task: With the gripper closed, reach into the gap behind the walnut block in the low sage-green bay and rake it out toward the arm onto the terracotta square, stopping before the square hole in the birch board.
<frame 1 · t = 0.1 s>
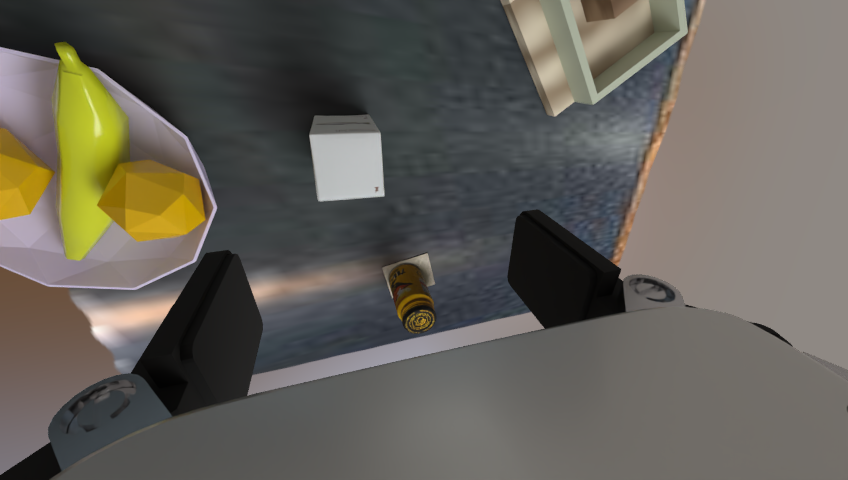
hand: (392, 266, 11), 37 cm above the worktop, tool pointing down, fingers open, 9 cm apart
condiment: (408, 274, 58), on the worktop
low bay: (614, 11, 41), on the board, point 4 cm above the worktop
fruit bowl: (108, 167, 39), on the worktop
supplement box: (344, 141, 44), on the worktop
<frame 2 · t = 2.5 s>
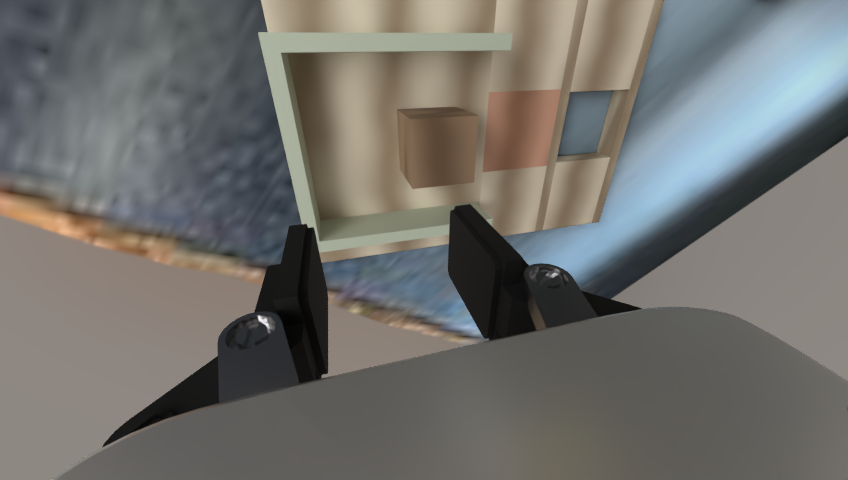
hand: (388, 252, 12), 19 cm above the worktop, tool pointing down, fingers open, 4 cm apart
low bay: (397, 146, 25), on the board, point 4 cm above the worktop
board: (471, 130, 30), on the worktop
walnut block: (426, 138, 28), point 2 cm above the worktop, touching board
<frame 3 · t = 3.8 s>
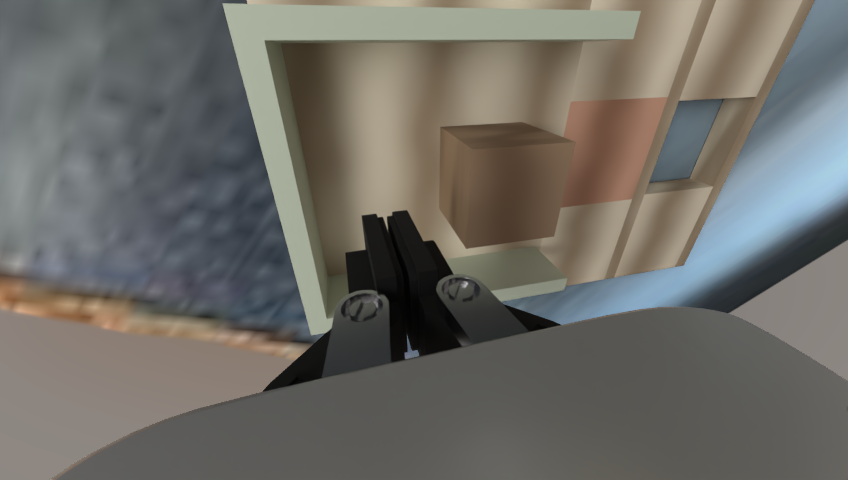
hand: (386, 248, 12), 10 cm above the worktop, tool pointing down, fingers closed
low bay: (441, 182, 17), on the board, point 4 cm above the worktop
board: (535, 152, 22), on the worktop
walnut block: (478, 166, 20), point 2 cm above the worktop, touching board
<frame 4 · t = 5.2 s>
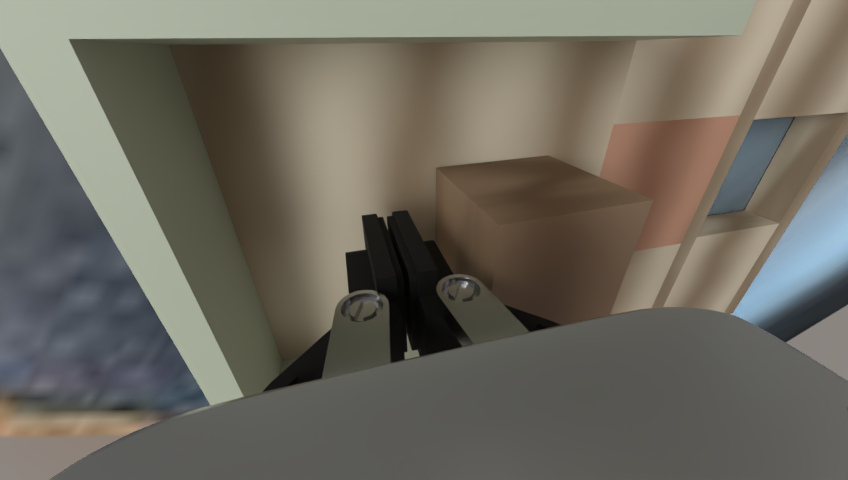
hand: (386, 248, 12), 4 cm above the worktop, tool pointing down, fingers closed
low bay: (432, 246, 12), on the board, point 4 cm above the worktop
board: (558, 187, 17), on the worktop
walnut block: (489, 217, 14), point 2 cm above the worktop, touching board, gripper
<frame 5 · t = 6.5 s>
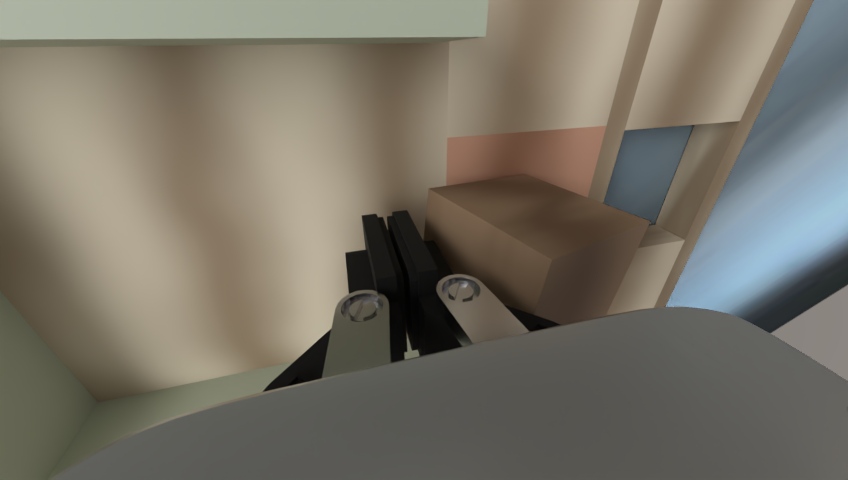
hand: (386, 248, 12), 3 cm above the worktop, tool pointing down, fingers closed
low bay: (210, 282, 10), on the board, point 4 cm above the worktop
board: (422, 204, 15), on the worktop
walnut block: (471, 237, 13), point 3 cm above the worktop, tilted 19°, touching gripper
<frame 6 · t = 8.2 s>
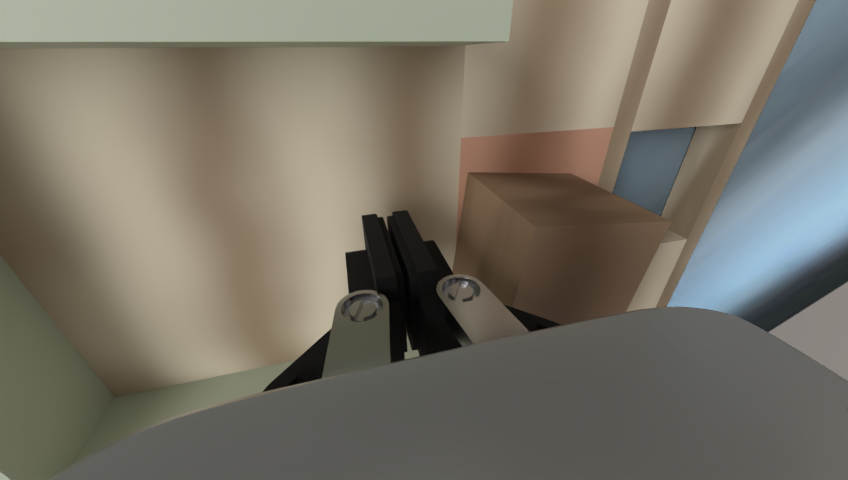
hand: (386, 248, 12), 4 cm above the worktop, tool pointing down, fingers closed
low bay: (233, 277, 10), on the board, point 4 cm above the worktop
board: (433, 203, 16), on the worktop
walnut block: (509, 225, 15), point 2 cm above the worktop, touching board
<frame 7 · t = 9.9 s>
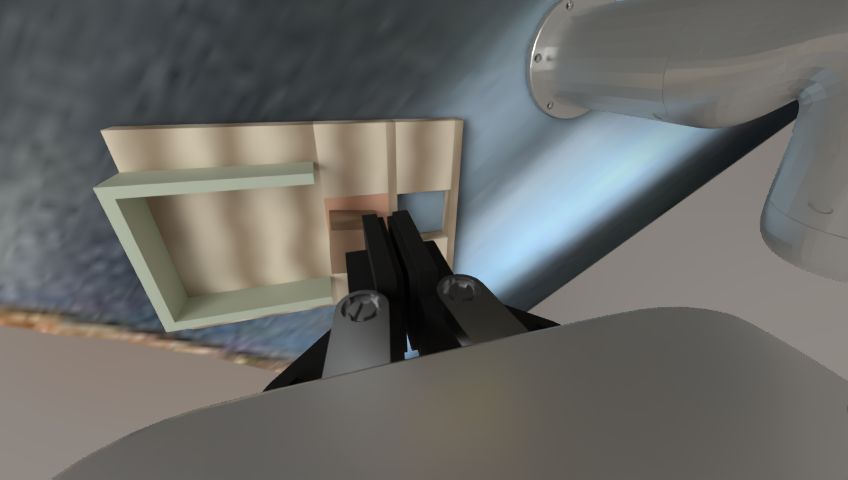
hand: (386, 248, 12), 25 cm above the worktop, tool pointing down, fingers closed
low bay: (240, 246, 32), on the board, point 4 cm above the worktop
board: (322, 220, 37), on the worktop
walnut block: (351, 230, 37), point 2 cm above the worktop, touching board
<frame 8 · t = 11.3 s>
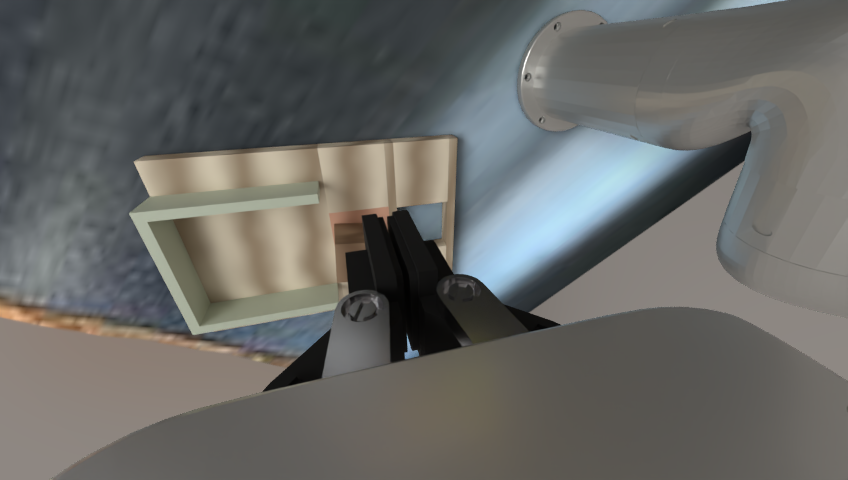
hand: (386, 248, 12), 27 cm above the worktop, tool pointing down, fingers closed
low bay: (254, 258, 35), on the board, point 4 cm above the worktop
board: (329, 232, 40), on the worktop
walnut block: (355, 241, 40), point 2 cm above the worktop, touching board
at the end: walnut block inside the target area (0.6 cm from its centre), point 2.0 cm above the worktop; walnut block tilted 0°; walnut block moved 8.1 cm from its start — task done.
